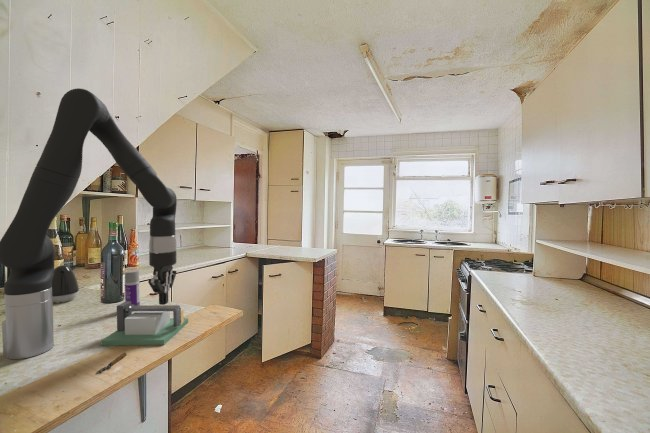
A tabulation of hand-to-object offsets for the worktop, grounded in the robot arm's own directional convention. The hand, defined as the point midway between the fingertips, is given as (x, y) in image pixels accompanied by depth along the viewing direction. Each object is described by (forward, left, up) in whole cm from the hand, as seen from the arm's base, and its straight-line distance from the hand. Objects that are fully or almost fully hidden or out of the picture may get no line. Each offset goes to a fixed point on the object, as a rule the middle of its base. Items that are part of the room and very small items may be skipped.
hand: (163, 303), depth 93 cm
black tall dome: (-58, +31, -10) cm, 66 cm away
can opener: (-4, -18, -10) cm, 21 cm away
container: (-23, +21, -10) cm, 33 cm away
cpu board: (-5, 0, -10) cm, 11 cm away
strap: (-3, 0, -7) cm, 8 cm away
